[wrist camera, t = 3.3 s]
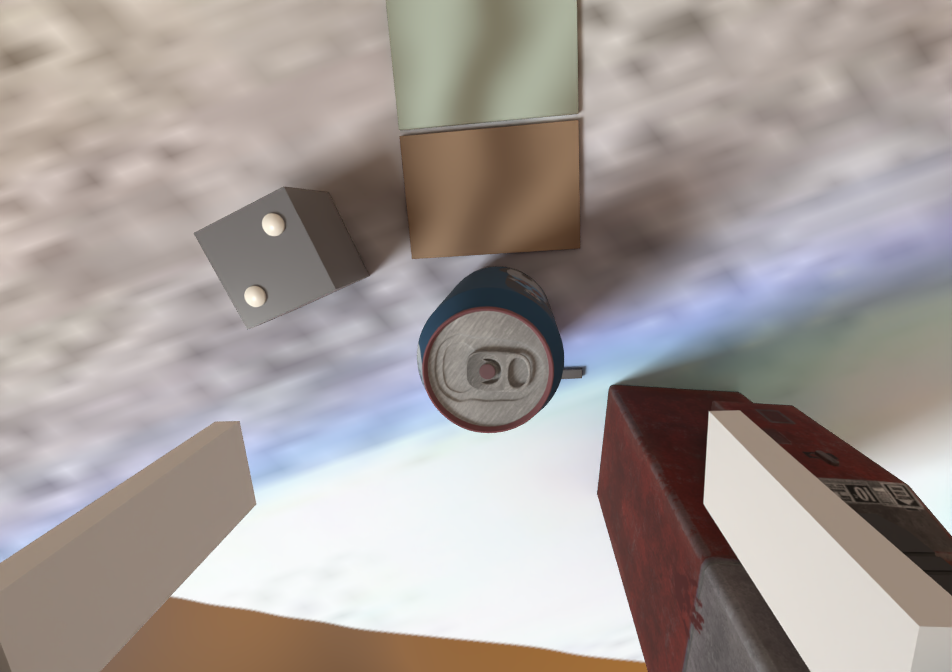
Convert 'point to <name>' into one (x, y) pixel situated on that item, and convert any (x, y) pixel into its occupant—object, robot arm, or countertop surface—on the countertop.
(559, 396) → the countertop surface
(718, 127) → the countertop surface
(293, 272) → the die
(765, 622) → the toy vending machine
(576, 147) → the game board
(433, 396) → the soda can
